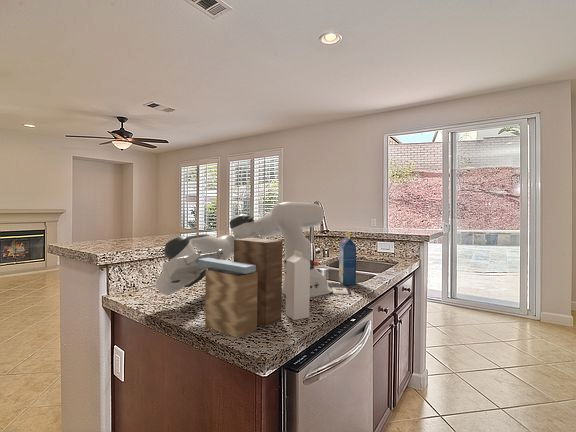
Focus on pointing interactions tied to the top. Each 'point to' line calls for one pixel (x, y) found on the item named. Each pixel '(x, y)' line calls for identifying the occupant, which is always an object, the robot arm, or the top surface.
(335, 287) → the chocolate bar
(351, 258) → the blue food package
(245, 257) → the stand
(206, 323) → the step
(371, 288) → the top surface
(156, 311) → the top surface
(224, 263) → the slat
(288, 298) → the milk
